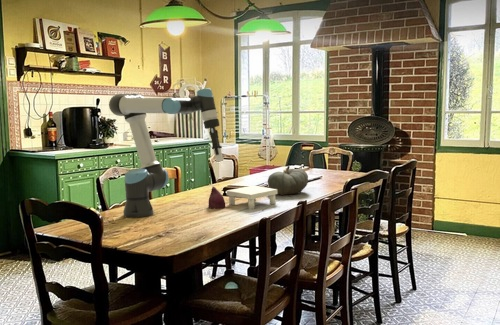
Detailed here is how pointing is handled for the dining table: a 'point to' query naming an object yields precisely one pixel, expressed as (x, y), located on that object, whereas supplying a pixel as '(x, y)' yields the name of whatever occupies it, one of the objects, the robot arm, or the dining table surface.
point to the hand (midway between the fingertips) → (220, 161)
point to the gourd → (288, 181)
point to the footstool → (251, 194)
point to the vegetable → (216, 199)
